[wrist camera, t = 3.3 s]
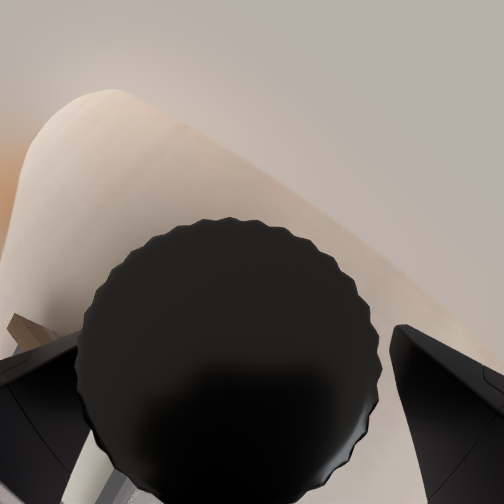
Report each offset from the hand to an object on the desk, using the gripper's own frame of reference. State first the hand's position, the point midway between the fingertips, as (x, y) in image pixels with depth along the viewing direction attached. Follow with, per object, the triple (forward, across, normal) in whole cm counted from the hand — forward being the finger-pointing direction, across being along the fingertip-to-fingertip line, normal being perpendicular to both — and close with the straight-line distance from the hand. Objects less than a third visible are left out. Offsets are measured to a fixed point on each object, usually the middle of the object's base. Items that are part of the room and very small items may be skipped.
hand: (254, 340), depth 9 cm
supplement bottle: (+4, 0, +6) cm, 7 cm away
